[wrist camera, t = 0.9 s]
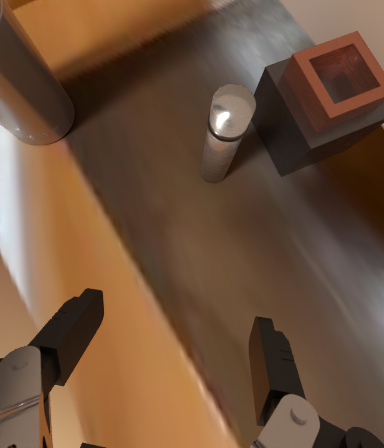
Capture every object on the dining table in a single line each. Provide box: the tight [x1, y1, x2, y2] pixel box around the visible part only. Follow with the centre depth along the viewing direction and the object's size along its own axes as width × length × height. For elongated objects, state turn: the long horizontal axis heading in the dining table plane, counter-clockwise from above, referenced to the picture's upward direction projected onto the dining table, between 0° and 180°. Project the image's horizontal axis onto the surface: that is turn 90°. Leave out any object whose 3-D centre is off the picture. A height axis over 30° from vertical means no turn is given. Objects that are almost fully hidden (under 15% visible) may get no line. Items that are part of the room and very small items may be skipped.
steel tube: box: [200, 84, 256, 183], centre depth 27 cm, size 4×4×14 cm
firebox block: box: [251, 31, 384, 177], centre depth 30 cm, size 11×11×10 cm
